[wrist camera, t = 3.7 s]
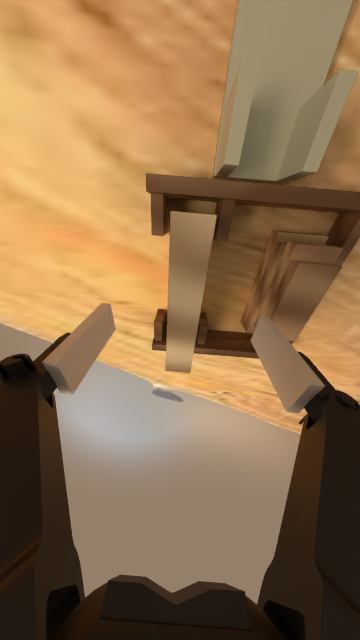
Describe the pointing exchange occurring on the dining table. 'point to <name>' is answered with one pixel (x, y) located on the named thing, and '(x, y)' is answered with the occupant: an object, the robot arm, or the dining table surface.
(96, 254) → the dining table surface
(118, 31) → the dining table surface
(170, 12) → the dining table surface
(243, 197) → the rack
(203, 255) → the plywood sheet
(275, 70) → the display stand
